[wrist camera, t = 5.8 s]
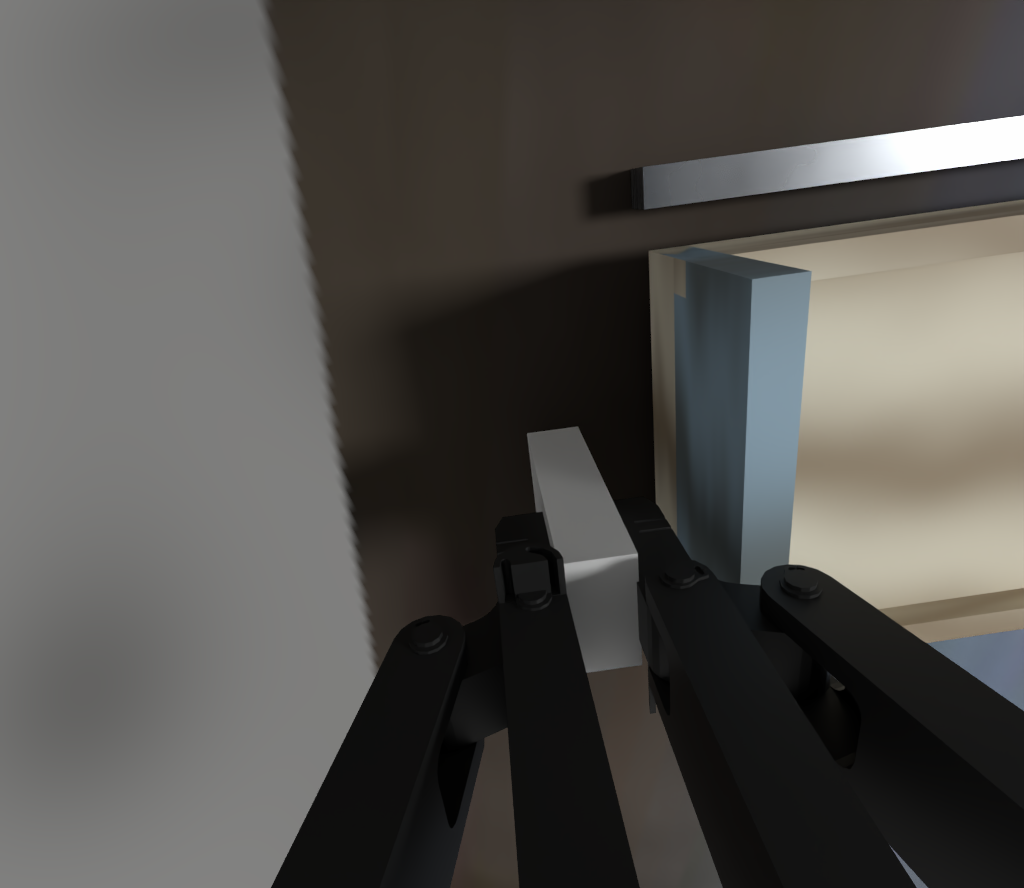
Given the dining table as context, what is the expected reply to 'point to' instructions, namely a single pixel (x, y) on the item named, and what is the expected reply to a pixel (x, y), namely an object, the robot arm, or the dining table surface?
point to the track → (827, 163)
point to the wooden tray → (851, 410)
